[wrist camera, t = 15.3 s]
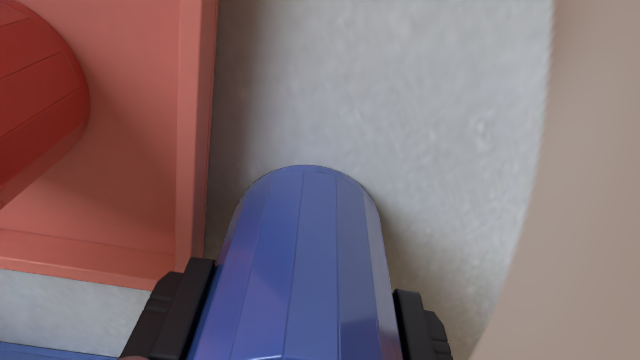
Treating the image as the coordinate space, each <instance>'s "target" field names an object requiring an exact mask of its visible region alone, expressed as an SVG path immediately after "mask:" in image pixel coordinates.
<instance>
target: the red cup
mask: <svg viewBox="0 0 640 360" xmlns="http://www.w3.org/2000/svg"><path fill="white" fill-rule="evenodd" d="M89 116H90V95H89V88H88V85H87V81H86V78H85V75H84V73H83V70H82V68H81V66H80V64H79V62H78V60H77V58H76V57H75V55H74V53H73V52H72V50H71V49H70V47H69V46H68V45H67V43H66V42H65V41H64V39H63V38H62V37H61V36H60V35H59V34H58V32H57V31H56V30H55V29H54V28H53V27H51V26H50V25H49V24H48V23H47V22H46V21H45V20H44V19H43V18H41V17H40V16H39V15H37V14H36V13H35V12H34V11H32V10H30V9H29V8H27V7H26V6H24V5H23V4H21V3H19V2H17V1H15V0H0V210H1V209H2V208H3V207H4V206H6V205H7V204H8V203H9V202H10V201H12V200H13V199H14V198H15V197H16V196H17V195H19V194H20V193H21V192H22V191H23V190H25V189H26V188H27V187H28V186H29V185H30V184H32V183H33V182H34V181H35V180H36V179H38V178H39V177H40V176H41V175H42V174H43V173H45V172H46V171H47V170H48V169H49V168H51V167H52V166H53V165H54V164H55V163H56V162H58V161H59V160H60V159H61V158H62V157H63V156H65V155H66V154H67V153H68V152H69V151H71V150H72V149H73V147H74V146H75V145H76V144H77V143H78V142H79V140H80V139H81V138H82V136H83V134H84V132H85V130H86V128H87V125H88V121H89Z"/></svg>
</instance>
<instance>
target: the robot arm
mask: <svg viewBox="0 0 640 360" xmlns="http://www.w3.org/2000/svg"><path fill="white" fill-rule="evenodd" d="M214 268H215V260H210V259H204V258H197V257H190V259H189V261H188V263H187V266H186V268H185V270H184V273H181V272H174V271H169V272H168V273H167V274H166V275H164V276H163V277H162V278H161V279H160V280H159V281H157V283H156V285H155V287H154V289H153V291H152V293H151V295H150V298H149V299H148V301H147V303H146V305H145V307H144V310H143V311H142V313H141V315H140V317H139V319H138V321H137V323H136V325H135V327H134V329H133V331H132V333H131V336H130V338H129V340H128V342H127V344H126V346H125V348H124V350H123V352H122V353H121V355H120V357H119V358H118V359H117V360H183V358H184V355H185V352H186V349H187V346H188V344H189V341H190V338H191V335H192V332H193V329H194V326H195V323H196V320H197V318H198V315H199V312H200V309H201V306H202V303H203V300H204V297H205V294H206V291H207V289H208V286H209V283H210V280H211V277H212V274H213V271H214ZM393 300H394V306H395V312H396V318H397V324H398V330H399V336H400V342H401V348H402V354H403V360H453V357H452V356H451V350H450V346H449V343H448V339H447V336H446V332H445V329H444V325H443V324H442V323H441V321H440V320H439V318H438V317H437V316H436V314H435V313H434V311H427V310H424V308H423V303H422V299H421V296H420V294H419V293H418V292H413V291H407V290H401V289H395V290H394V291H393Z"/></svg>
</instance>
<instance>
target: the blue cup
mask: <svg viewBox="0 0 640 360" xmlns="http://www.w3.org/2000/svg"><path fill="white" fill-rule="evenodd" d="M183 360H403V354H402V348H401V342H400V336H399V330H398V324H397V318H396V312H395V306H394V300H393V294H392V288H391V282H390V276H389V270H388V264H387V258H386V252H385V246H384V240H383V235H382V229H381V223H380V217H379V213H378V210H377V207H376V205H375V203H374V201H373V200H372V198H371V196H370V195H369V194H368V192H367V191H366V190H365V189H364V188H363V187H362V186H361V185H360V184H359V183H357V182H356V181H355V180H353V179H352V178H350V177H349V176H347V175H345V174H343V173H341V172H339V171H336V170H333V169H330V168H326V167H322V166H314V165H296V166H289V167H285V168H280V169H278V170H275V171H272V172H270V173H268V174H266V175H264V176H262V177H261V178H260V179H258V180H257V181H255V182H254V183H253V184H252V185H251V186H250V187H249V188H248V189H247V190H246V192H245V193H244V194H243V196H242V197H241V199H240V201H239V203H238V206H237V208H236V210H235V211H234V213H233V216H232V219H231V222H230V225H229V228H228V231H227V233H226V236H225V239H224V242H223V245H222V248H221V251H220V254H219V257H218V259H217V262H216V265H215V268H214V271H213V274H212V277H211V280H210V283H209V286H208V289H207V291H206V294H205V297H204V300H203V303H202V306H201V309H200V312H199V315H198V318H197V320H196V323H195V326H194V329H193V332H192V335H191V338H190V341H189V344H188V346H187V349H186V352H185V355H184V358H183Z"/></svg>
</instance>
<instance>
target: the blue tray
mask: <svg viewBox="0 0 640 360" xmlns="http://www.w3.org/2000/svg"><path fill="white" fill-rule="evenodd" d="M117 359H118V358H113V357H106V356H98V355H91V354H84V353H76V352H69V351H62V350H55V349H47V348H40V347H33V346H25V345H18V344H11V343H4V342H0V360H117Z"/></svg>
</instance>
